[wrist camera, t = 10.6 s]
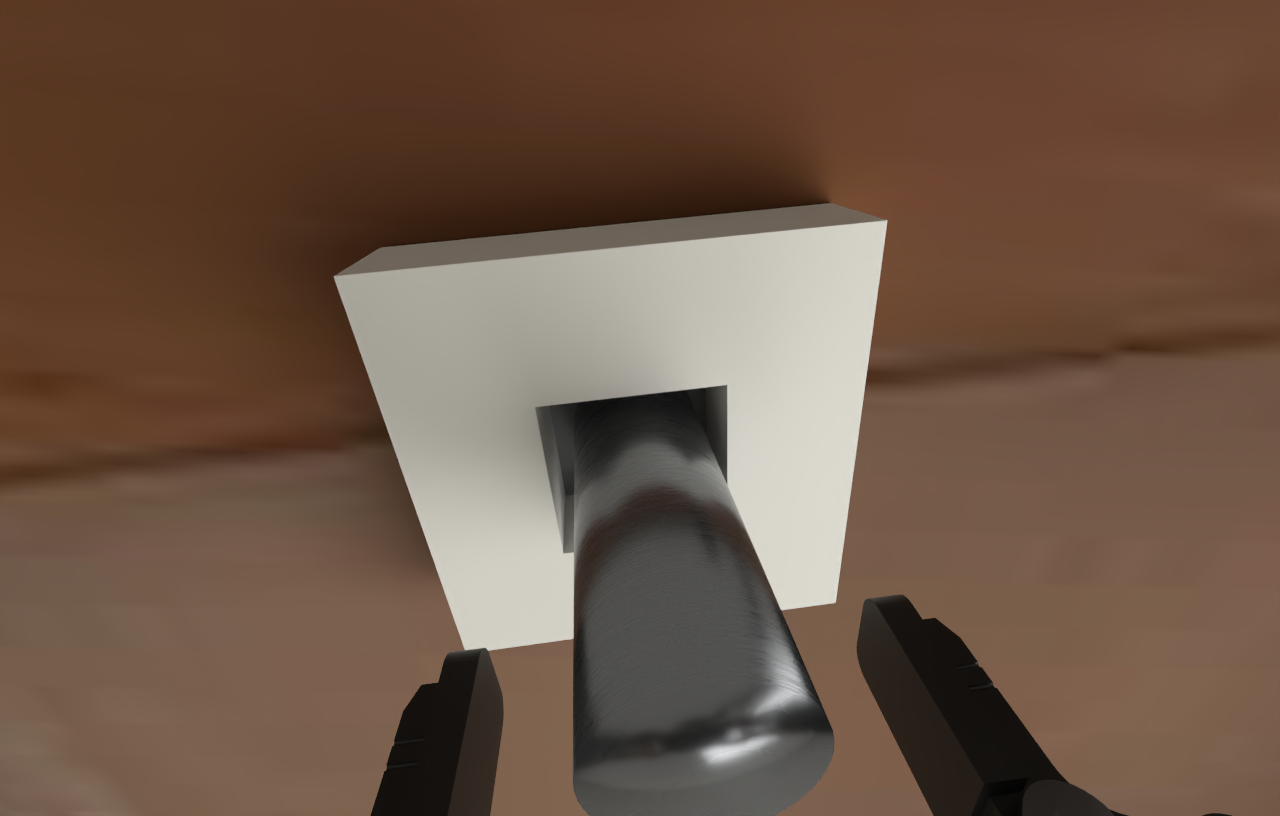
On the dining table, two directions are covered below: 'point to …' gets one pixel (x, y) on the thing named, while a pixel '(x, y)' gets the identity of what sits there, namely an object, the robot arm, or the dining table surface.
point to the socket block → (619, 387)
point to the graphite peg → (678, 631)
